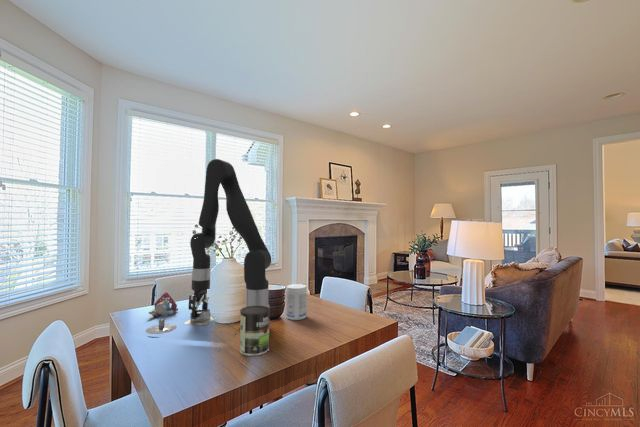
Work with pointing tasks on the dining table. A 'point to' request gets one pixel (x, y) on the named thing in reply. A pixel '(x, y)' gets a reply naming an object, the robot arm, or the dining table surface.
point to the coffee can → (254, 330)
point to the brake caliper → (163, 307)
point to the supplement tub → (296, 302)
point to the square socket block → (201, 316)
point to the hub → (160, 328)
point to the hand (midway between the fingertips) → (199, 315)
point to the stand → (199, 323)
